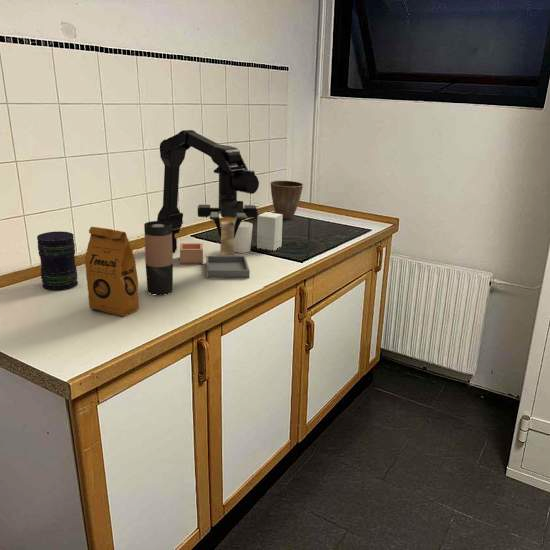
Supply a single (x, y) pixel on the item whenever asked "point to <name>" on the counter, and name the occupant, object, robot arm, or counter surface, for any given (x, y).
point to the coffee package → (111, 272)
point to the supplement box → (269, 231)
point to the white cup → (243, 237)
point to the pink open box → (191, 253)
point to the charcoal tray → (227, 267)
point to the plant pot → (286, 197)
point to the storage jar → (57, 260)
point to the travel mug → (159, 257)
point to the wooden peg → (227, 238)
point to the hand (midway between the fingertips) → (227, 237)
